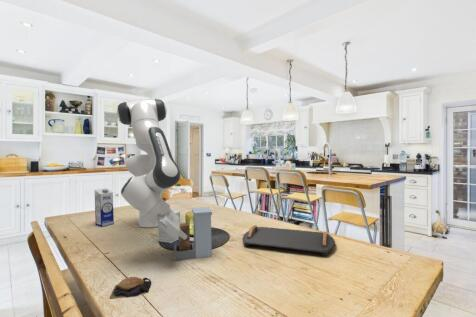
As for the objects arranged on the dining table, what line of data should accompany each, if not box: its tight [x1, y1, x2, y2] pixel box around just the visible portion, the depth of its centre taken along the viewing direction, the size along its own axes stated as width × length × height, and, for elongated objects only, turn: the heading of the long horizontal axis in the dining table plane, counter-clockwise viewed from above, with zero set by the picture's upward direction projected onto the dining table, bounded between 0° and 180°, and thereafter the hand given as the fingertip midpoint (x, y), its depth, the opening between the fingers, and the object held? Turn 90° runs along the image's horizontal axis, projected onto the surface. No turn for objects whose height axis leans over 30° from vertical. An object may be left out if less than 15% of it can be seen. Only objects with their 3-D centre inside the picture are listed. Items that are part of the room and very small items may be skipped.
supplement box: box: [157, 210, 181, 244], centre depth 117 cm, size 7×7×13 cm
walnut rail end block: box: [178, 222, 191, 251], centre depth 99 cm, size 4×4×12 cm
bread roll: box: [109, 276, 152, 300], centre depth 75 cm, size 11×8×4 cm
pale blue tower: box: [173, 206, 213, 262], centre depth 100 cm, size 14×9×17 cm, turn 105°
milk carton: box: [94, 187, 115, 228], centre depth 143 cm, size 7×7×20 cm
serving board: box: [242, 225, 336, 257], centre depth 111 cm, size 39×23×6 cm, turn 69°
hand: (185, 235), depth 99 cm, fingers open, 5 cm apart
